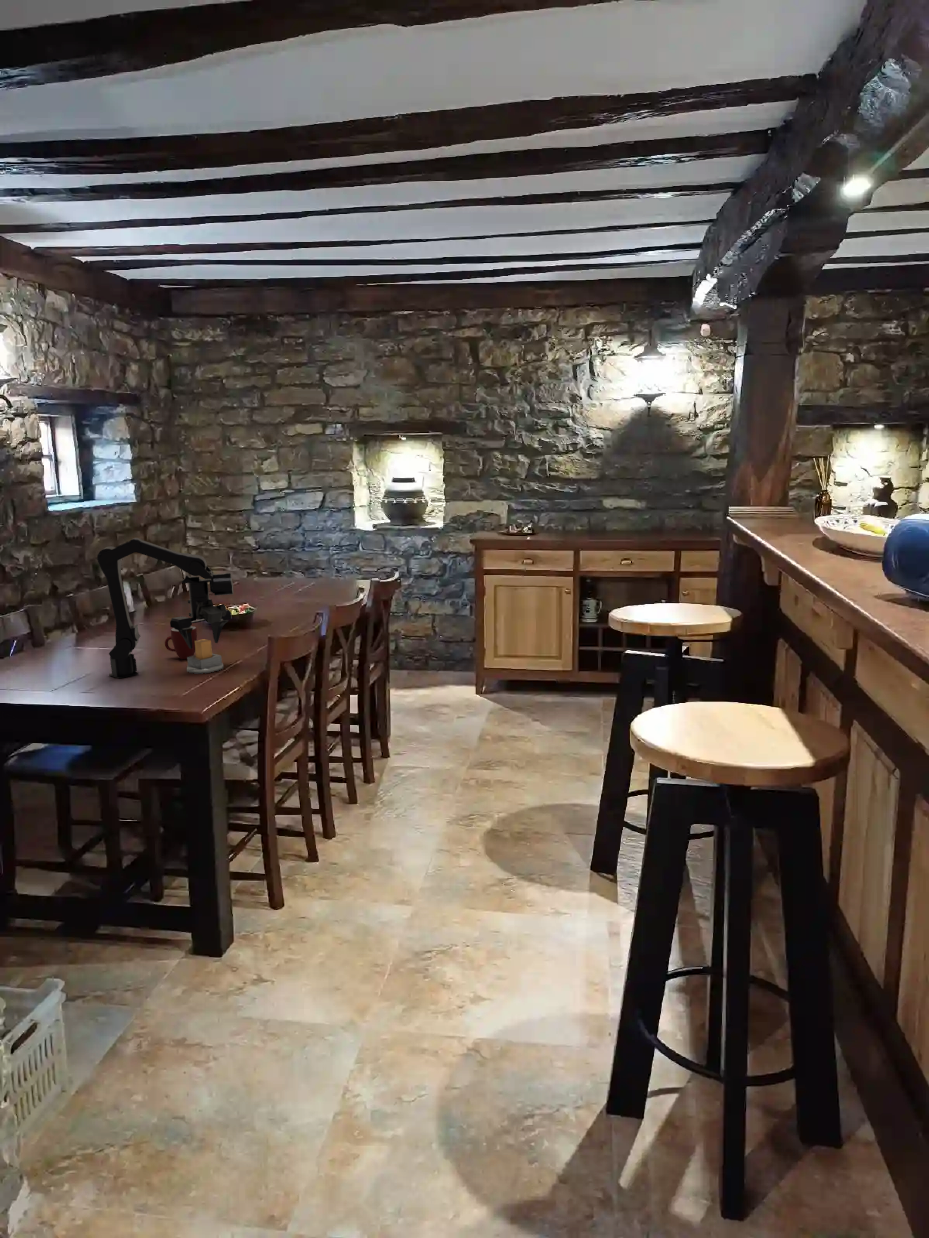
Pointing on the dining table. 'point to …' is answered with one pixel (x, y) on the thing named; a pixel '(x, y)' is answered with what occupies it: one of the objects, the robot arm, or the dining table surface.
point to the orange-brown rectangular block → (203, 648)
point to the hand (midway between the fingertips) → (203, 645)
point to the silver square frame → (204, 664)
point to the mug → (182, 643)
